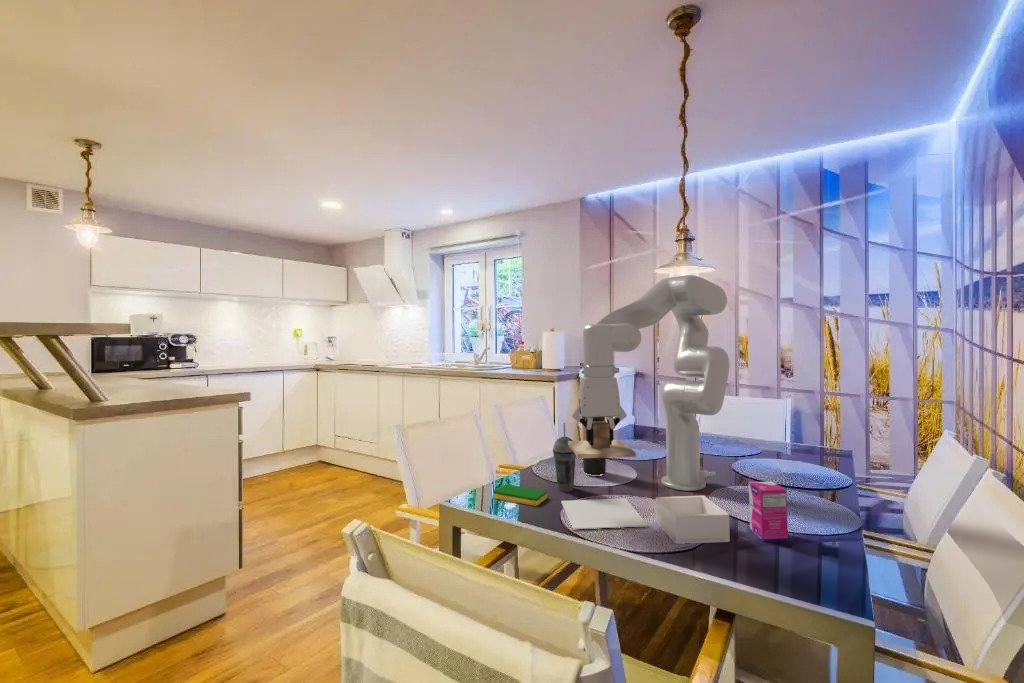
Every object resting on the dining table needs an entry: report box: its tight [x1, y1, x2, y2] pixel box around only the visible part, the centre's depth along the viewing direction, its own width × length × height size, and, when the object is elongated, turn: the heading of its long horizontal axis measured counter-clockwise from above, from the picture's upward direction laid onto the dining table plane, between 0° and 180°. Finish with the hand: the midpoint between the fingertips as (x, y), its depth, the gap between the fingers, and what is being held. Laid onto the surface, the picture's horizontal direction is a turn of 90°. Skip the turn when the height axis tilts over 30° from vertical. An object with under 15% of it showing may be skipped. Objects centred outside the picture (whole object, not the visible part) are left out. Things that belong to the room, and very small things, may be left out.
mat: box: [560, 497, 649, 530], centre depth 117 cm, size 18×18×1 cm
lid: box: [568, 420, 637, 459], centre depth 116 cm, size 14×14×7 cm
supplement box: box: [748, 480, 789, 542], centre depth 102 cm, size 6×6×12 cm
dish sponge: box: [493, 484, 548, 507], centre depth 130 cm, size 7×14×2 cm, turn 60°
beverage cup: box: [552, 422, 577, 492], centre depth 136 cm, size 7×7×20 cm
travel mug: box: [581, 415, 607, 475], centre depth 151 cm, size 8×8×20 cm
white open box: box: [655, 495, 731, 545], centre depth 106 cm, size 12×12×6 cm
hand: (599, 443), depth 117 cm, fingers closed on lid, 4 cm apart
